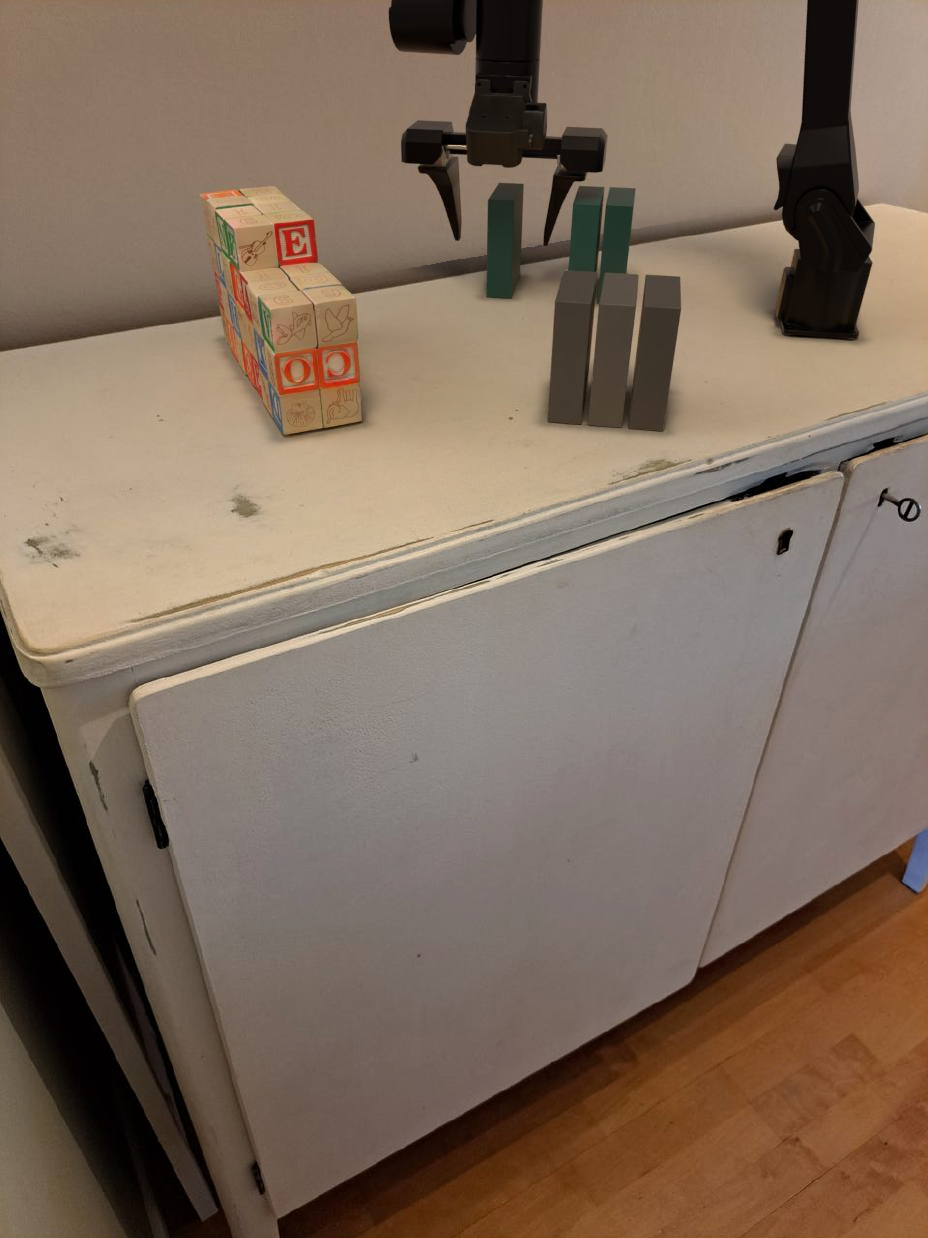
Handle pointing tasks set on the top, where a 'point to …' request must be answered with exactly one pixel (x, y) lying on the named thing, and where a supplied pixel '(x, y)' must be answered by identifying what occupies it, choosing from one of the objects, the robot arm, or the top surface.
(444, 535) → the top surface
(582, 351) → the grey books
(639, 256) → the top surface
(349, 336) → the stack of blocks
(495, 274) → the teal book
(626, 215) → the teal books
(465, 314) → the top surface
